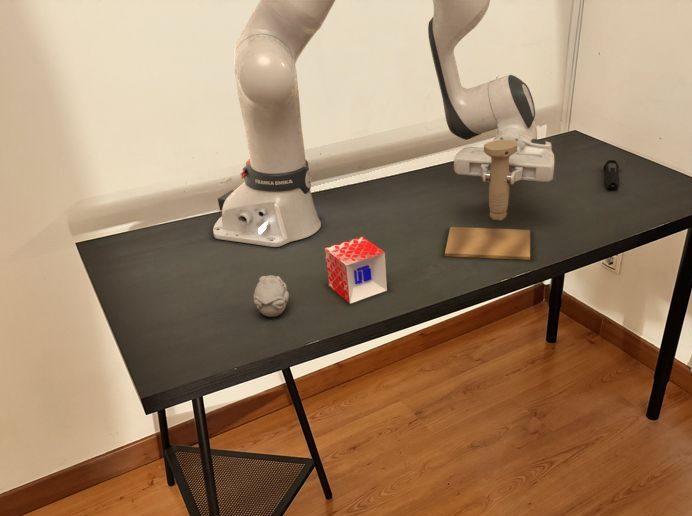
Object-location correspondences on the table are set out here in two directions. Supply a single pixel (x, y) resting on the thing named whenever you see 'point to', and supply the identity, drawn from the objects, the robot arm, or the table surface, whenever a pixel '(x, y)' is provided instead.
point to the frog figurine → (271, 295)
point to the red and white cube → (356, 269)
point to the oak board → (488, 243)
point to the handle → (499, 176)
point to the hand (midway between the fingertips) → (498, 179)
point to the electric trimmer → (611, 174)
